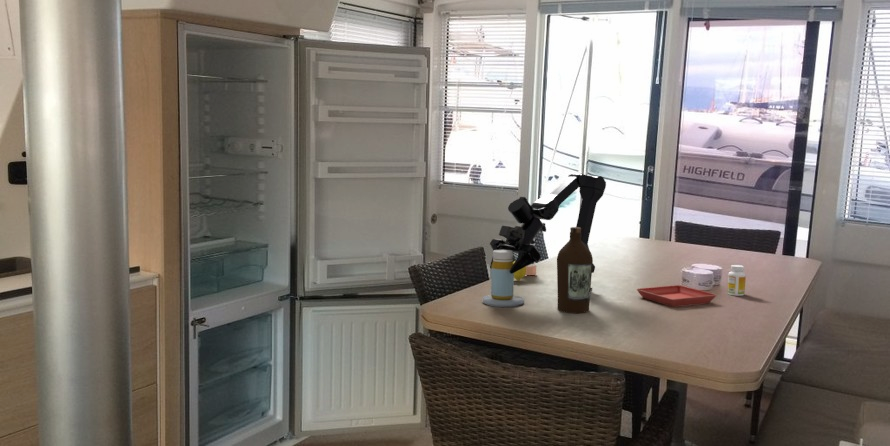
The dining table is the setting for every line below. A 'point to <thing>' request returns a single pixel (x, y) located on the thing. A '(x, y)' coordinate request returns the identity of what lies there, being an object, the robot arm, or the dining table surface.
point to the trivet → (503, 301)
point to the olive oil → (574, 275)
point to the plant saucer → (676, 295)
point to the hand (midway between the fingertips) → (500, 270)
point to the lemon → (519, 273)
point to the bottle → (502, 275)
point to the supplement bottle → (736, 281)
